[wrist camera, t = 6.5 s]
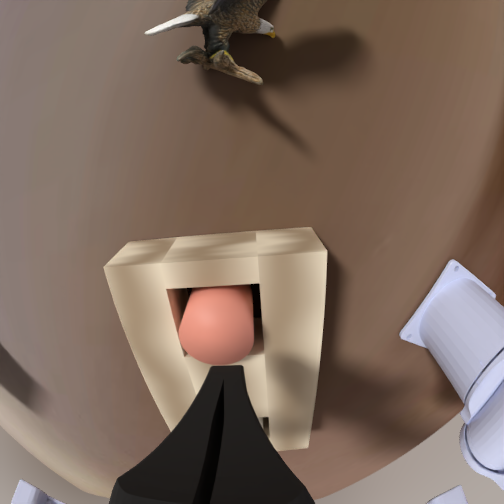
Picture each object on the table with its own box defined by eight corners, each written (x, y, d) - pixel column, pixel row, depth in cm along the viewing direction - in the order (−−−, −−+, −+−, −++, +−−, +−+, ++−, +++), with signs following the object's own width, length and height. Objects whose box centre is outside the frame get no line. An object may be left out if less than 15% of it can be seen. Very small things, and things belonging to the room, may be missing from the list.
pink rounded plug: (250, 265, 18) (250, 305, 14) (254, 318, 19) (256, 363, 15) (187, 270, 18) (171, 309, 14) (197, 321, 19) (187, 365, 15)
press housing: (311, 227, 18) (327, 251, 14) (302, 416, 25) (307, 447, 22) (128, 241, 18) (103, 267, 14) (187, 420, 26) (182, 451, 22)
